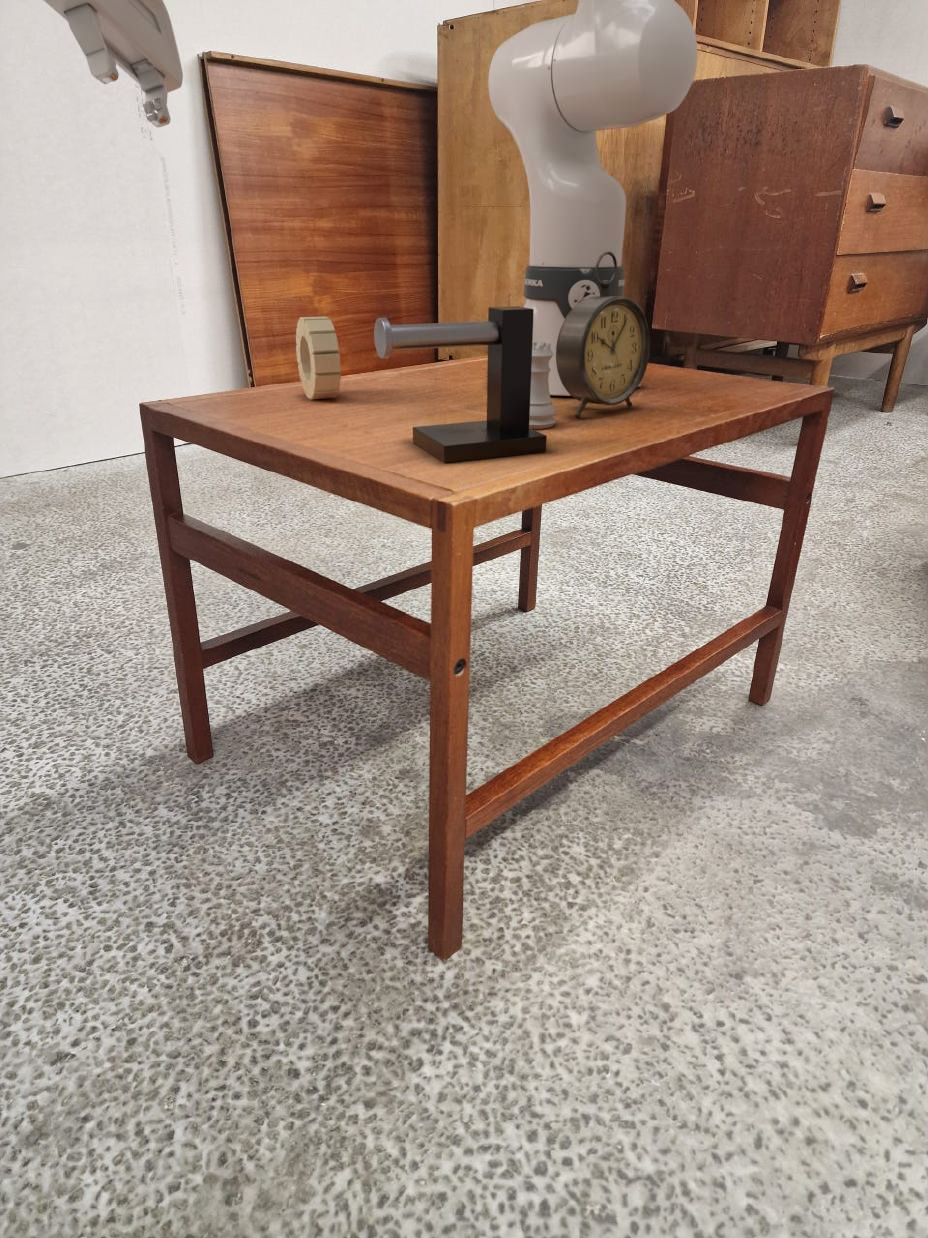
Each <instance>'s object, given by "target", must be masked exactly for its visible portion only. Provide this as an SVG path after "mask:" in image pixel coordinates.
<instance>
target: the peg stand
mask: <svg viewBox="0 0 928 1238" xmlns="http://www.w3.org/2000/svg"><path fill="white" fill-rule="evenodd" d="M487 311H488V313H487V315H488V319H487V320H482V321H481V320H480V321H479V320H478V321H455V322H435V323H434V322H433V323H432V322H431V323H409V324H391V323H390V321H389V319H388V318H387V317H378V318H376V320H375V324H374V328H373V338H374V339H373V340H374V346H375V349H376V350H375V351H376V354H377V355H378V357H379V358H380V359H383V360H385V359H389V358H390V357H391V355H392V352H393V351H409V350H425V349H427V350H428V349H445V348H446V349H447V348H463V347H465V348H466V347H481V346H482V347H484V346H487V371H486V372H487V375H486V376H487V380H486V381H487V382H486V383H487V384H486V385H487V386H486V420H475V421H465V422H453V423H442V424H431V425H421V426H419V425H418V426H413V427H412V443H413V444H414V445H416V446H418V447H419V448H420V449H422V450H424V451H425V452H427V453H428V454H429V455H431V456H433V457H435V458H436V459H438V460H440V461H441V462H443V463H444V464H449V463H457V462H466V461H476V460H485V459H494V458H503V457H513V456H522V455H530V454H531V455H532V454H540V453H546V452H547V443H548V442H547V441H548V435H546V434H544V433H541V432H539V431H537V430H536V429H530V428H529V420H530V394H531V367H532V341H533V315H534V309H531V308H525V307H523V306H519V305H515V306H513V305H512V306H489V307H488V309H487Z"/></svg>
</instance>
